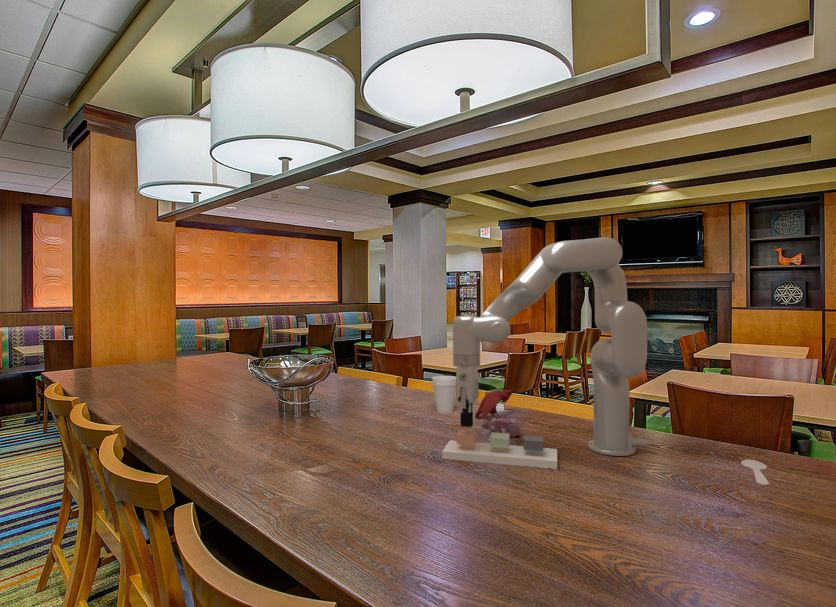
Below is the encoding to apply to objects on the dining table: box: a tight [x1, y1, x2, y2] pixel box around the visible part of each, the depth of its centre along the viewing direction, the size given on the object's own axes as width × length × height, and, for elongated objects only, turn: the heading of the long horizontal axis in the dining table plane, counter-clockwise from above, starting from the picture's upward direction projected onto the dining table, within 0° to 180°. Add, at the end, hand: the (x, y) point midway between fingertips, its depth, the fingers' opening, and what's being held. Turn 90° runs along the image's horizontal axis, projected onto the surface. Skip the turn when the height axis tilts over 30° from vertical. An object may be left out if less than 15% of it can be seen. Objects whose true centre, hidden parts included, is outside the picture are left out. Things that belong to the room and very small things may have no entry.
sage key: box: [488, 432, 511, 448], centre depth 126 cm, size 5×5×2 cm
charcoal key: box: [523, 434, 545, 451], centre depth 124 cm, size 5×5×2 cm
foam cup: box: [432, 375, 456, 414], centre depth 178 cm, size 10×9×13 cm
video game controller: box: [487, 417, 522, 438], centre depth 146 cm, size 10×5×7 cm, turn 62°
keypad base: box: [441, 439, 558, 470], centre depth 126 cm, size 30×10×2 cm, turn 74°
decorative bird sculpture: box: [474, 389, 514, 421], centre depth 166 cm, size 28×9×15 cm
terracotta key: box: [456, 429, 479, 446], centre depth 129 cm, size 5×5×2 cm
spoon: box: [740, 458, 770, 486], centre depth 115 cm, size 5×18×1 cm, turn 152°
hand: (466, 425), depth 129 cm, fingers closed
